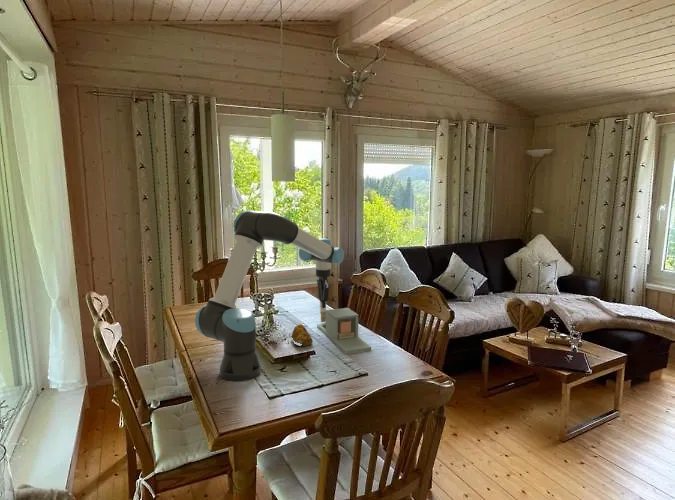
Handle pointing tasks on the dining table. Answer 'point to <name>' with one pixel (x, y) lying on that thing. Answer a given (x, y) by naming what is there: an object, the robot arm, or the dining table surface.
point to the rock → (301, 335)
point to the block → (344, 326)
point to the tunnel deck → (331, 331)
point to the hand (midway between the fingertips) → (322, 313)
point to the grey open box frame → (339, 336)
